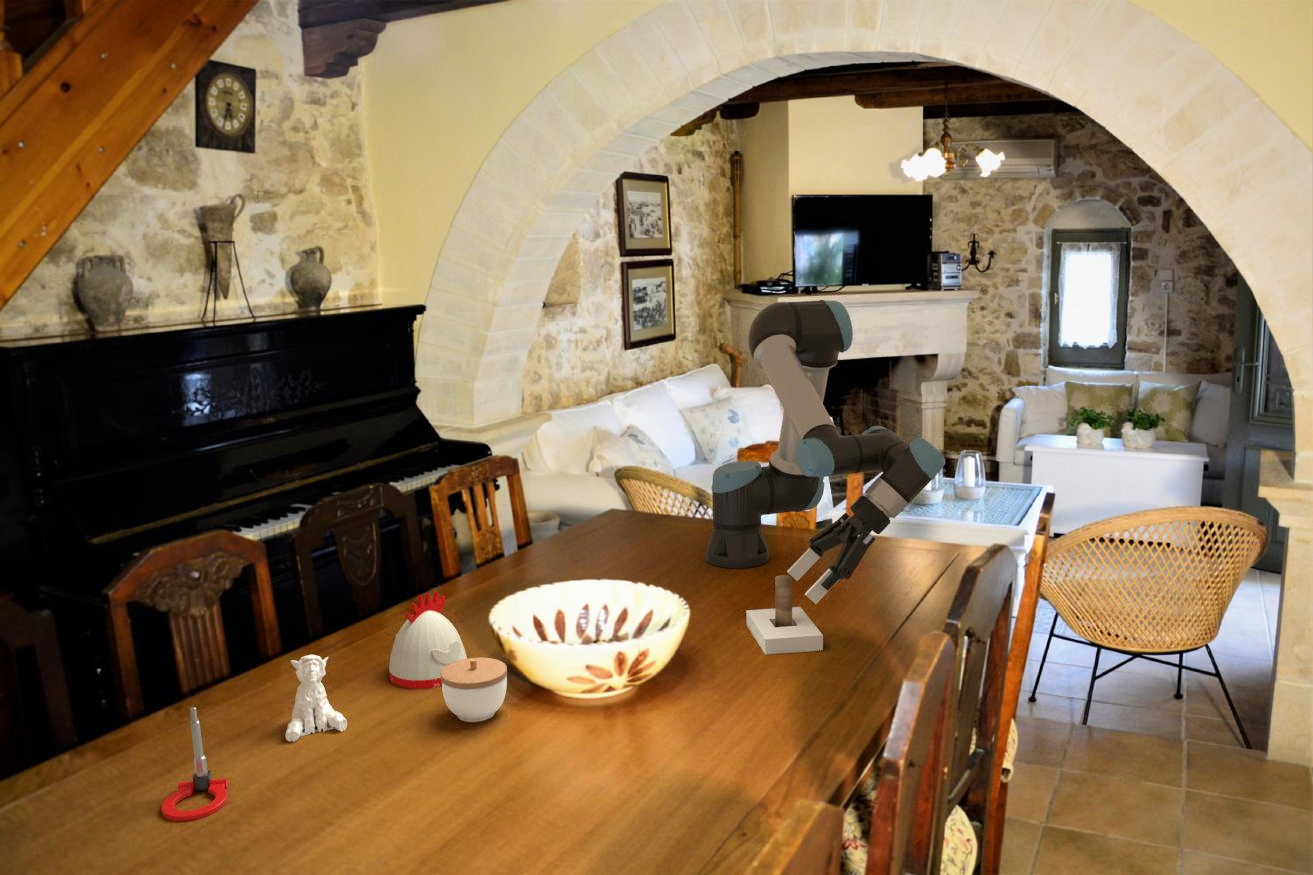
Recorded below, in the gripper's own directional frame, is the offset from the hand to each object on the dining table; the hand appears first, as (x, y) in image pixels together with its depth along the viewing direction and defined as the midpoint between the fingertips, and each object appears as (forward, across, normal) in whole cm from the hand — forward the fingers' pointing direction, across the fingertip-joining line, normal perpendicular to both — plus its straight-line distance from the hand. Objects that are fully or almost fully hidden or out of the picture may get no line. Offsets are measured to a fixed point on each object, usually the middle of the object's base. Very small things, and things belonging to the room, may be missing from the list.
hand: (800, 587), depth 204 cm
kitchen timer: (+57, -5, +43) cm, 71 cm away
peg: (+9, 0, -5) cm, 11 cm away
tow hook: (+76, -47, +63) cm, 110 cm away
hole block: (+9, 0, -5) cm, 11 cm away
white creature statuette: (+68, -25, +55) cm, 91 cm away
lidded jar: (+50, -24, +36) cm, 66 cm away
